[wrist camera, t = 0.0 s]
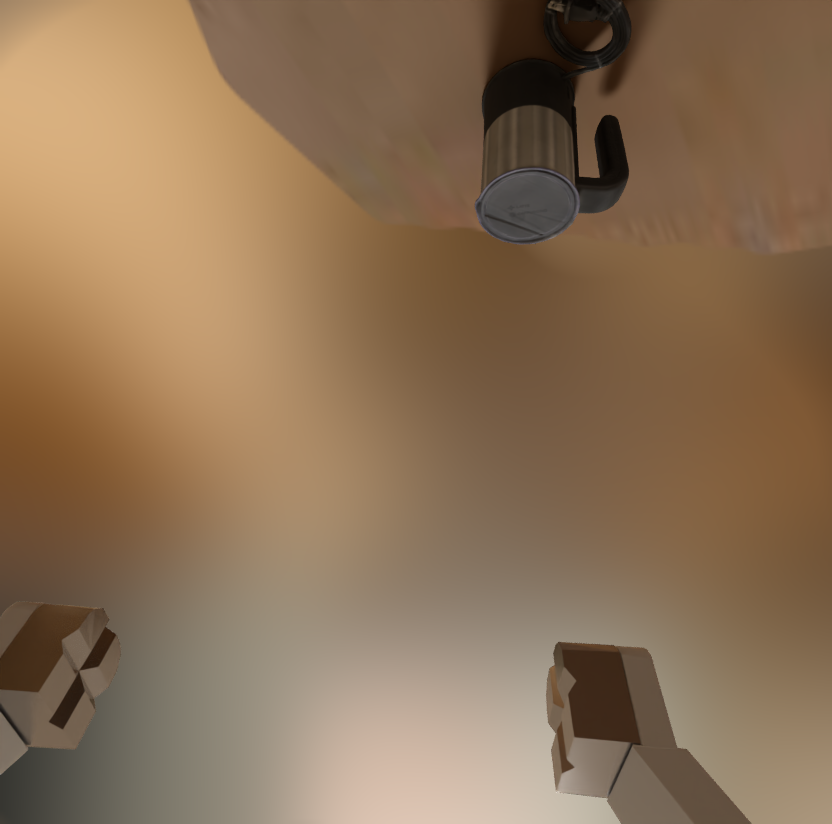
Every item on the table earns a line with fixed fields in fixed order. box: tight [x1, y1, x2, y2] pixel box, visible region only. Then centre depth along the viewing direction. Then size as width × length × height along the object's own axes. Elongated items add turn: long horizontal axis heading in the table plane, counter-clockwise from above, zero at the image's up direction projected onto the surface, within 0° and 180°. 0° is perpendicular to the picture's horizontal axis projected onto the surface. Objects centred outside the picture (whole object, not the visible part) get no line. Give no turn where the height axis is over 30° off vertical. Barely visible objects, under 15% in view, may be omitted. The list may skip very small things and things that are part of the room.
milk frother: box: [475, 0, 631, 244], centre depth 53 cm, size 14×16×15 cm
